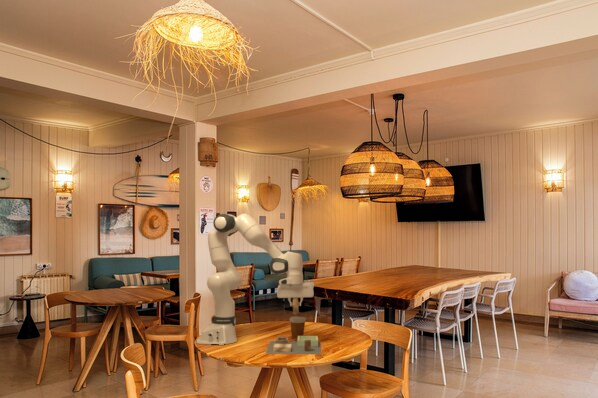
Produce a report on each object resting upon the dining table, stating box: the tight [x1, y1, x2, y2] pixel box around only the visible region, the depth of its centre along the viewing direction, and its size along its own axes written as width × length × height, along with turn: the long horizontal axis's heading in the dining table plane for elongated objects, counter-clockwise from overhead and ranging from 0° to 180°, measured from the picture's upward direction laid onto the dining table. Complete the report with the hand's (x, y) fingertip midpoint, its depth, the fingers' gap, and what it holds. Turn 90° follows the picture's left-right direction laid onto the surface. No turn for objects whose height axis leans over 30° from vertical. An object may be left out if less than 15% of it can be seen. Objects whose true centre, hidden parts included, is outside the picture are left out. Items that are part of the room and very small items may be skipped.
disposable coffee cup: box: [289, 315, 306, 340], centre depth 267 cm, size 10×10×12 cm
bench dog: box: [305, 340, 311, 351], centre depth 238 cm, size 3×3×5 cm
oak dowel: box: [292, 298, 300, 315], centre depth 251 cm, size 3×3×9 cm
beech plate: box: [273, 344, 292, 352], centre depth 238 cm, size 9×7×2 cm
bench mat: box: [265, 340, 322, 355], centre depth 244 cm, size 28×26×1 cm
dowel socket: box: [275, 336, 289, 344], centre depth 250 cm, size 6×6×3 cm
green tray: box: [296, 335, 319, 347], centre depth 250 cm, size 11×10×4 cm
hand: (295, 305), depth 251 cm, fingers closed on oak dowel, 3 cm apart
